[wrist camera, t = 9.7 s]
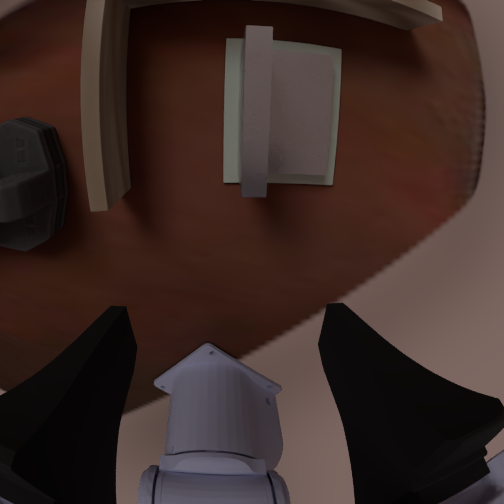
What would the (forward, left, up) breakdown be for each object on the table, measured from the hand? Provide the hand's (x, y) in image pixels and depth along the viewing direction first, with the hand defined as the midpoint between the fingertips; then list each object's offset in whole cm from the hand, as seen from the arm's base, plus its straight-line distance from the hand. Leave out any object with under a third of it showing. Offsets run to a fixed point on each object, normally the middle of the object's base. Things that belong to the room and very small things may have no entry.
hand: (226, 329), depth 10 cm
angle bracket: (+3, -7, -9) cm, 12 cm away
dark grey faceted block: (+19, +13, -10) cm, 25 cm away
